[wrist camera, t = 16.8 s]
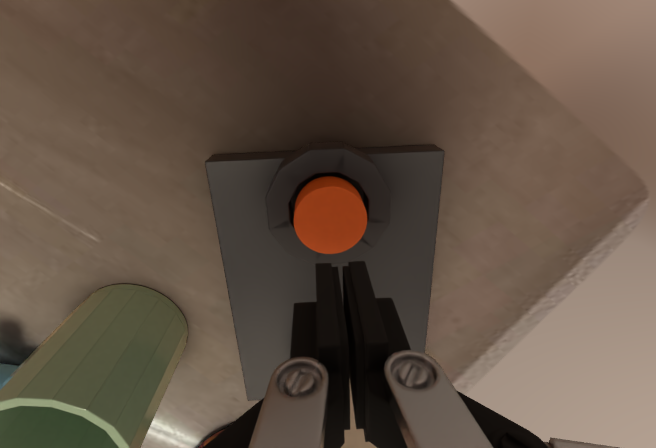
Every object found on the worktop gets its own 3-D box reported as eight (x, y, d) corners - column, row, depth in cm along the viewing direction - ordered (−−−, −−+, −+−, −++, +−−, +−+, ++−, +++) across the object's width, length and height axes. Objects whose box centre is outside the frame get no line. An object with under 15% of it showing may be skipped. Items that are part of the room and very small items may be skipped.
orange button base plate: (210, 141, 20) (191, 155, 17) (436, 131, 20) (459, 143, 17) (251, 382, 28) (243, 423, 25) (415, 371, 28) (428, 410, 25)
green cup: (96, 266, 23) (-23, 377, 15) (204, 309, 25) (151, 430, 17) (67, 344, 25) (-49, 477, 17) (167, 379, 27) (105, 514, 19)
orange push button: (292, 177, 18) (290, 188, 16) (362, 174, 18) (367, 184, 17) (297, 240, 19) (296, 256, 18) (362, 237, 20) (367, 252, 18)
